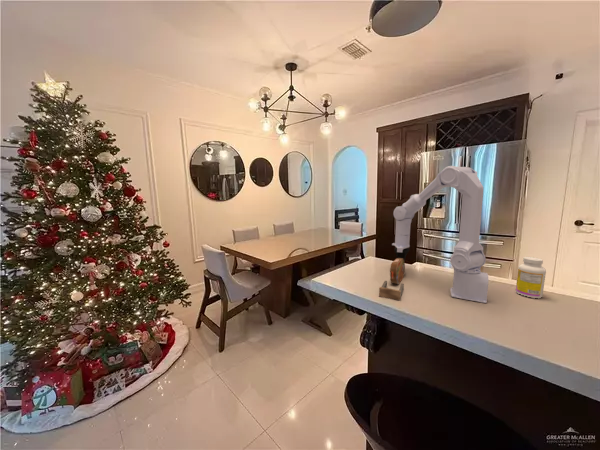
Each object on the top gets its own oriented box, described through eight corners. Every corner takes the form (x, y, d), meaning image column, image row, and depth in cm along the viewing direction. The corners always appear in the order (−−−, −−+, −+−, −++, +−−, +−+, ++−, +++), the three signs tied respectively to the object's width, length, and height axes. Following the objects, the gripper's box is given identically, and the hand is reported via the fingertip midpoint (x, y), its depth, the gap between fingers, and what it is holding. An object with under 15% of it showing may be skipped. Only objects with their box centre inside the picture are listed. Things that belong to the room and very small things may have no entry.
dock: (403, 289, 86) (404, 281, 85) (399, 300, 77) (400, 291, 76) (384, 285, 89) (385, 278, 89) (379, 296, 80) (379, 287, 80)
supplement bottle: (522, 289, 85) (527, 255, 83) (547, 297, 78) (552, 260, 77) (510, 292, 83) (515, 256, 81) (534, 300, 76) (539, 262, 75)
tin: (396, 287, 88) (397, 265, 86) (388, 285, 89) (389, 264, 88) (405, 275, 100) (406, 256, 99) (397, 274, 102) (398, 255, 100)
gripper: (395, 231, 110) (393, 259, 111) (389, 236, 97) (388, 268, 99) (411, 232, 106) (410, 261, 108) (408, 237, 94) (406, 270, 95)
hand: (400, 264), depth 103 cm, fingers closed
